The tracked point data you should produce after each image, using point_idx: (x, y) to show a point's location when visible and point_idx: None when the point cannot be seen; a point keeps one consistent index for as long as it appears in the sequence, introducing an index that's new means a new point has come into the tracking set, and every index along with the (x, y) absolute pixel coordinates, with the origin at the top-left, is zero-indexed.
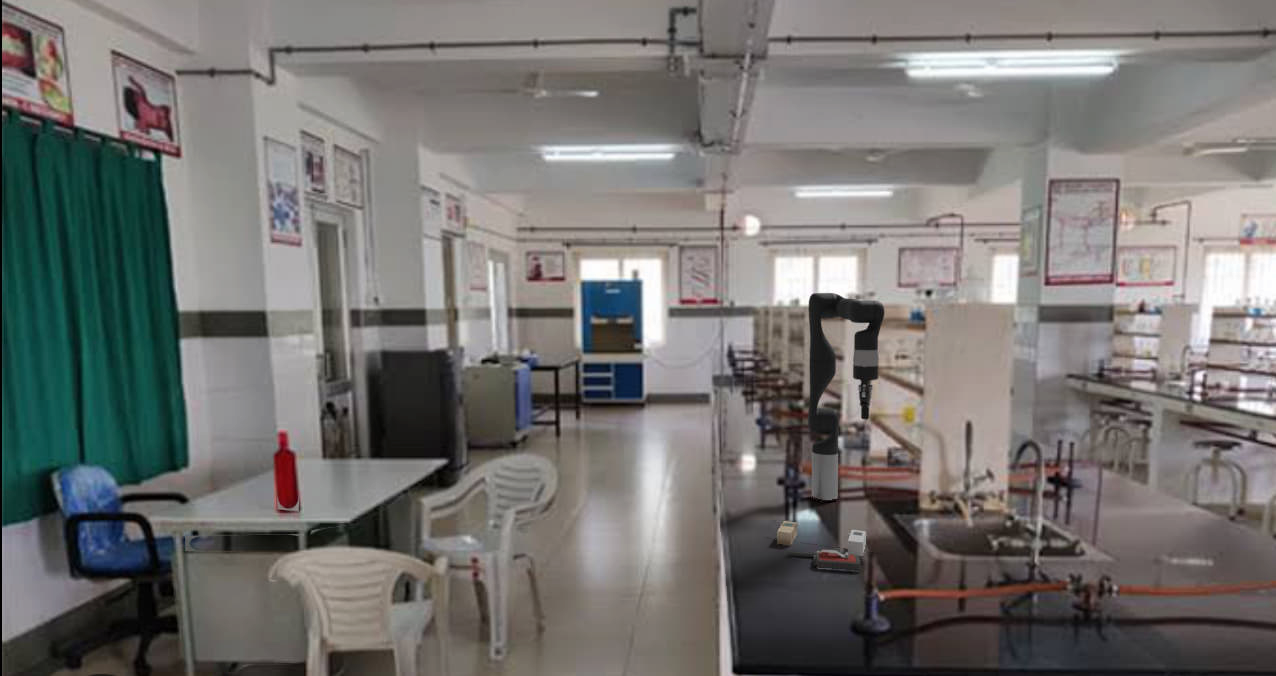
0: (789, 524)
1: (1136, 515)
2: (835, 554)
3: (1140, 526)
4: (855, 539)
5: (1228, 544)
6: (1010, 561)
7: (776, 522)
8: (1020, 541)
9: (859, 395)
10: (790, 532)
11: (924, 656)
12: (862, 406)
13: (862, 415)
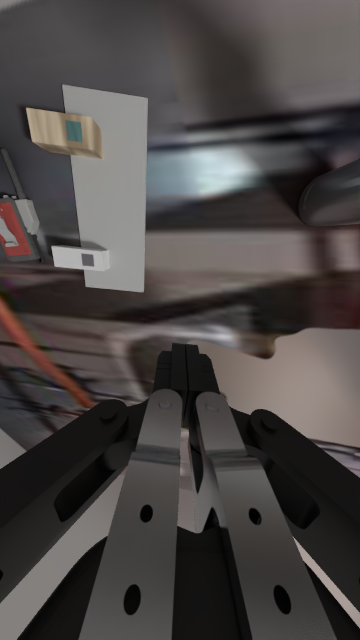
0: (75, 133)
1: None
2: (13, 228)
3: None
4: (62, 256)
5: None
6: (128, 387)
7: (162, 105)
8: None
9: (110, 527)
10: (33, 140)
11: None
12: (137, 405)
13: (158, 358)
